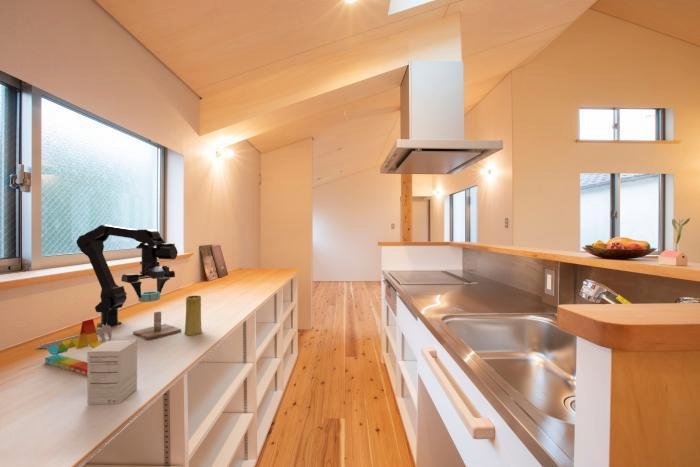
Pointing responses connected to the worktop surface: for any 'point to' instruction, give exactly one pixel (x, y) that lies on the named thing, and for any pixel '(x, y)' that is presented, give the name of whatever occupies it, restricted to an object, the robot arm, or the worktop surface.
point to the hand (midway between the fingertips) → (149, 296)
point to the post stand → (156, 329)
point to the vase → (193, 315)
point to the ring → (149, 296)
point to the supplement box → (111, 372)
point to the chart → (85, 339)
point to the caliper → (99, 332)
